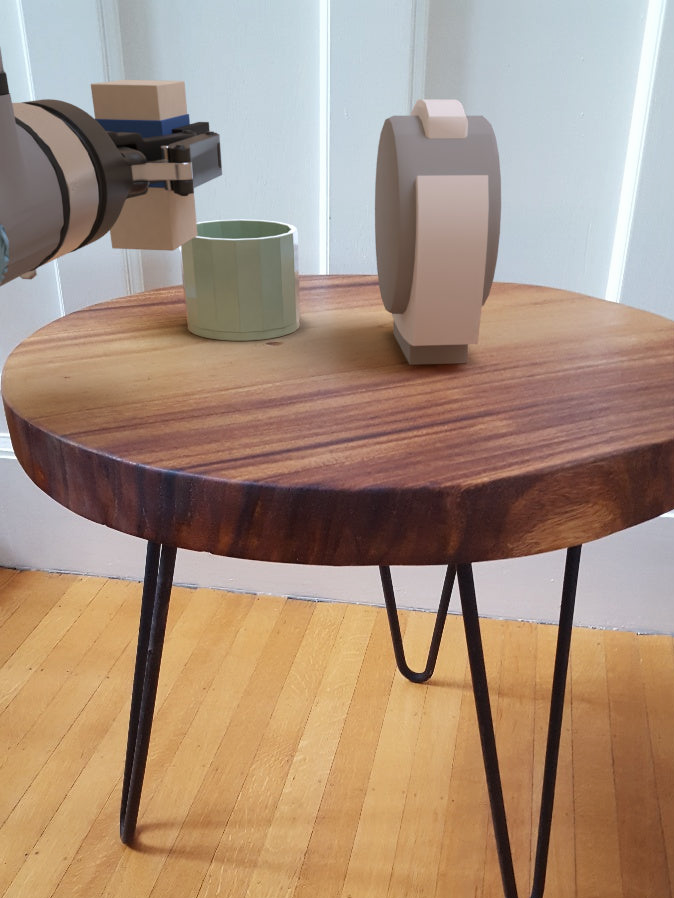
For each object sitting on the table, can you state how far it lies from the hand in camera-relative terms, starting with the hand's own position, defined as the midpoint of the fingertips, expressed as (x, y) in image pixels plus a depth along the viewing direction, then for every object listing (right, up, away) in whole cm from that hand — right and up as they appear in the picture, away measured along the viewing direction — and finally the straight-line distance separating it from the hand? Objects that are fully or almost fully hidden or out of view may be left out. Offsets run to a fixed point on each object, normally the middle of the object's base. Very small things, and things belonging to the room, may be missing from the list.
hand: (169, 142), depth 71 cm
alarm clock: (+20, -9, +19) cm, 29 cm away
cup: (+2, -5, +25) cm, 26 cm away
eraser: (-1, -8, -1) cm, 8 cm away
